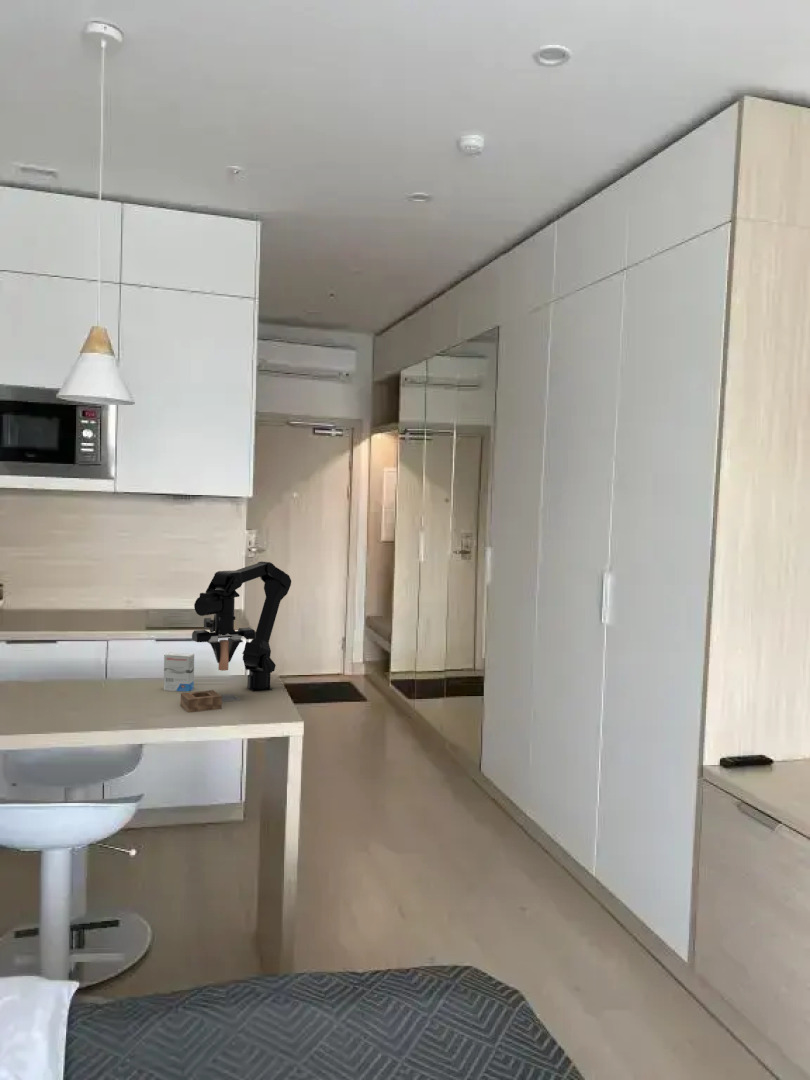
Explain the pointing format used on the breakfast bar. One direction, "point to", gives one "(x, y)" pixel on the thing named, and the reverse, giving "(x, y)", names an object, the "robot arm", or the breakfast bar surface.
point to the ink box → (178, 671)
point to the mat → (229, 698)
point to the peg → (224, 655)
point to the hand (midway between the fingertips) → (223, 662)
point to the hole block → (201, 701)
